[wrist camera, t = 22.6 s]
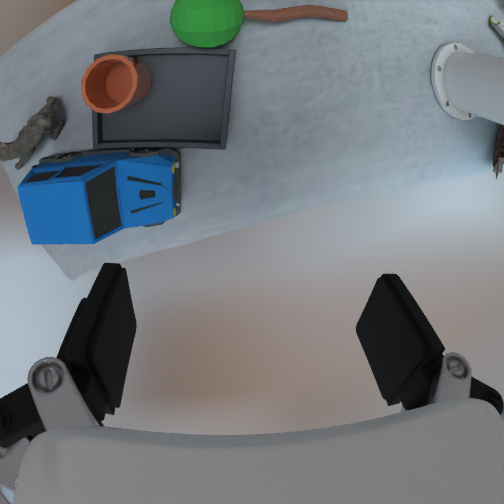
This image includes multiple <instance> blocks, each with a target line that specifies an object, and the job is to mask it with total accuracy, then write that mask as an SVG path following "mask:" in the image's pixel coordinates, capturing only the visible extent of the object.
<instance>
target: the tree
mask: <svg viewBox="0 0 504 504" xmlns="http://www.w3.org/2000/svg"><path fill="white" fill-rule="evenodd" d="M244 17H245V18H252V19H259V20H265V21H271V22H279V21H284V20H290V19H297V18H304V17H319V18H326V19H332V20H338V21H344V22H346V21H347V19H348V14H347V12H346V11H344V10H339V9H334V8H328V7H322V6H315V5H305V6H296V7H289V8H282V9H276V10H250V11H244V10H243V6H242V4H241V2H240V0H177V1H176V2H175V3H174V6H173V8H172V10H171V18H170V23H171V26H172V29H173V32H174V33H175V34H176V36H177V37H178V38H179V39H180V40H182V41H183V42H185V43H186V44H188V45H192V46H196V47H216V46H219V45H223V44H225V43H226V42H228V41H230V40H231V39H233V38H234V37H235V36H236V34H237V33H238V32H239V31H240V28H241V26H242V23H243V20H244Z"/></svg>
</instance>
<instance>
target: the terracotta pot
mask: <svg viewBox="0 0 504 504" xmlns="http://www.w3.org/2000/svg"><path fill="white" fill-rule="evenodd" d="M151 85H152V73H151V70H150V68H149V66H148V65H147V64H146V63H145V62H144V61H142V60H140V59H138V58H134V57H128V56H122V55H114V54H109V55H106V56H103V57H100V58H98V59H97V60H95V61H94V62H93V63H92V64H91V65H90V66H89V67H88V68H87V70H86V72H85V74H84V76H83V79H82V84H81V93H82V96H83V98H84V101H85V103H86V104H87V106H89V107H90V108H91V109H93V110H94V111H95V112H100V113H106V114H108V113H112V112H115V111H118V110H121V109H124V108H127V107H130V106H132V105H135V104H137V103H138V102H140V101H141V100H142V99H144V98H145V96H146V95H147V94H148V92H149V90H150V88H151Z"/></svg>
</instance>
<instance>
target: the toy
mask: <svg viewBox="0 0 504 504" xmlns="http://www.w3.org/2000/svg"><path fill="white" fill-rule="evenodd" d="M502 155H503V156H502ZM503 164H504V125H503V127H502V128H501V130H500V132H499V134H498V137H497V140H496V146H495V151H494V156H493V166H494V169H493V172H495V173H496V179H497V176H498V173H499V172H500V173H501V172H502V168H503ZM495 170H496V171H495Z"/></svg>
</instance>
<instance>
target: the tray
mask: <svg viewBox="0 0 504 504" xmlns="http://www.w3.org/2000/svg"><path fill="white" fill-rule="evenodd" d="M235 53H236V50H233V49H230V50H229V49H218V48H154V49H139V50H127V51H118V52H110V53H102V54H96V55H94V61H95V60H97V59H98V58H100V57H103V56H106V55H109V54H114V55H122V56H128V57H134V58H138V59H140V60H142V61H144V62H145V63H146V64H147V65H148V66H149V68H150V70H151V73H152V85H151V88H150V90H149V92H148V94H147V95H146V96H145V98H144V99H142V100H141V101H140V102H138V103H137V104H135V105H132V106H130V107H127V108H124V109H121V110H118V111H115V112H112V113H108V114H106V113H100V112H95V111H94V110H93V109H92V124H93V149H107V148H143V147H167V148H204V149H223V150H225V149H226V138H227V128H228V117H229V107H230V97H231V88H232V79H233V70H234V61H235Z"/></svg>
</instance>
